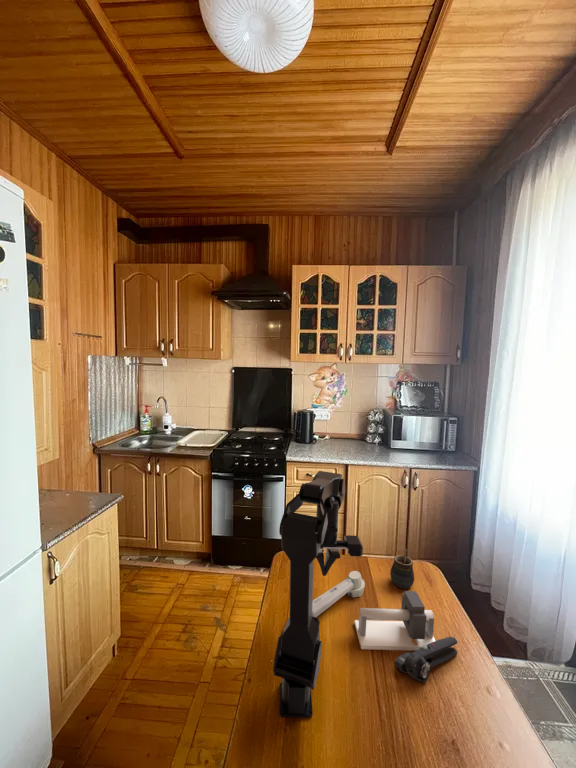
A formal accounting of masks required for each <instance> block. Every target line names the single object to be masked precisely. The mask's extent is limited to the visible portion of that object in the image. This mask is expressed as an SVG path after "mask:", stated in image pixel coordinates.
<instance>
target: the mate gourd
mask: <svg viewBox="0 0 576 768" xmlns="http://www.w3.org/2000/svg"><path fill="white" fill-rule="evenodd" d="M407 550H408V548H406V547H404V553H403V554H404V555H403V554H402V555H395V556H394V558H393V563H392V565H391V569H390V578H391V581H392V583H393V584H394V585H395V586H396V587H398V588H399V589H405V590H406V589H408V588H411V587H412V586H413V585H414V582H415V573H414V567H413V565H414V564H413V563H414V561H413V560H412V559H411V557H408V556H407V552H408V551H407Z"/></svg>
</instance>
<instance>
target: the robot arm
mask: <svg viewBox="0 0 576 768" xmlns="http://www.w3.org/2000/svg"><path fill="white" fill-rule="evenodd" d="M345 494H346V482H345V478H343V474H341V473H336V472H331V471H330V472H329V471H324V470H319V471H318V472H316V474H315V475H314V476H313V478H312V481H309V482H305V483H302V484H301V485H300V488H299V491H298V493H297V494H296V495H295V496H294V497H293V498H292V499H291V500H290V501H288V502H287V504H286V506H285V508H284V511H283V514H282V518H281V520H280V523H279V529H278V530H279V531H278V533H279V536H280V539H281V549H282V551H283V552H284V554H285V555H286V557H287V558H288V560H289V564H290V565H289V617H288V619H287V621H286V623H285V626H284V629H282V631H281V633H280V635H279V636H278V639H277V644H276V648H275V654H274V660H273V668H272V673H273V676H274V677H279V678H281V679H282V681H281V682H280V684H279V713H278V714H279V716H280V717H283V718H284V717H288V718H312V717H313V715H314V713H313V712H314V711H313V701H312V690H315V687H316V684H317V680H318V677H319V672H320V668H321V667H320V666H321V657H322V656H321V655H322V648H323V641H322V640H321V639H320V636H321V634H320V633H321V632H320V623H321V622H320V619H319V617H313V616H312V601H313V600H314V599H313V598H314V597H313V593H314V591H313V590H314V589H313V587H314V560H315V559H316V560H317V562H318V564H319V566H320V570H321V574H322V577H325V576H327V574H328V572H329V571H330V570H331V568H332V566H333V565H334V563H335V562H336V560H337V559H340V558H341V553H340V551H341V550H347V554H348V555H349V556H350V557H362V556H363V554H364V553H363V552H364V548H363V544H362V541H361V539H360V538H359V536H358V535H344V536H343V540H338V531H339V530H338V526H339V525H338V524H339V510H340V509H341V506H342V505H343V502H344V498H345V496H346V495H345ZM304 503H306V504H312V505H316V516H314V515H309V514H303V513H298V512H297V510H299V509H300V508H301V507H302V506H303V505H304ZM323 549H326V552H325V553H326V554H325V555H324V550H323Z"/></svg>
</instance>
